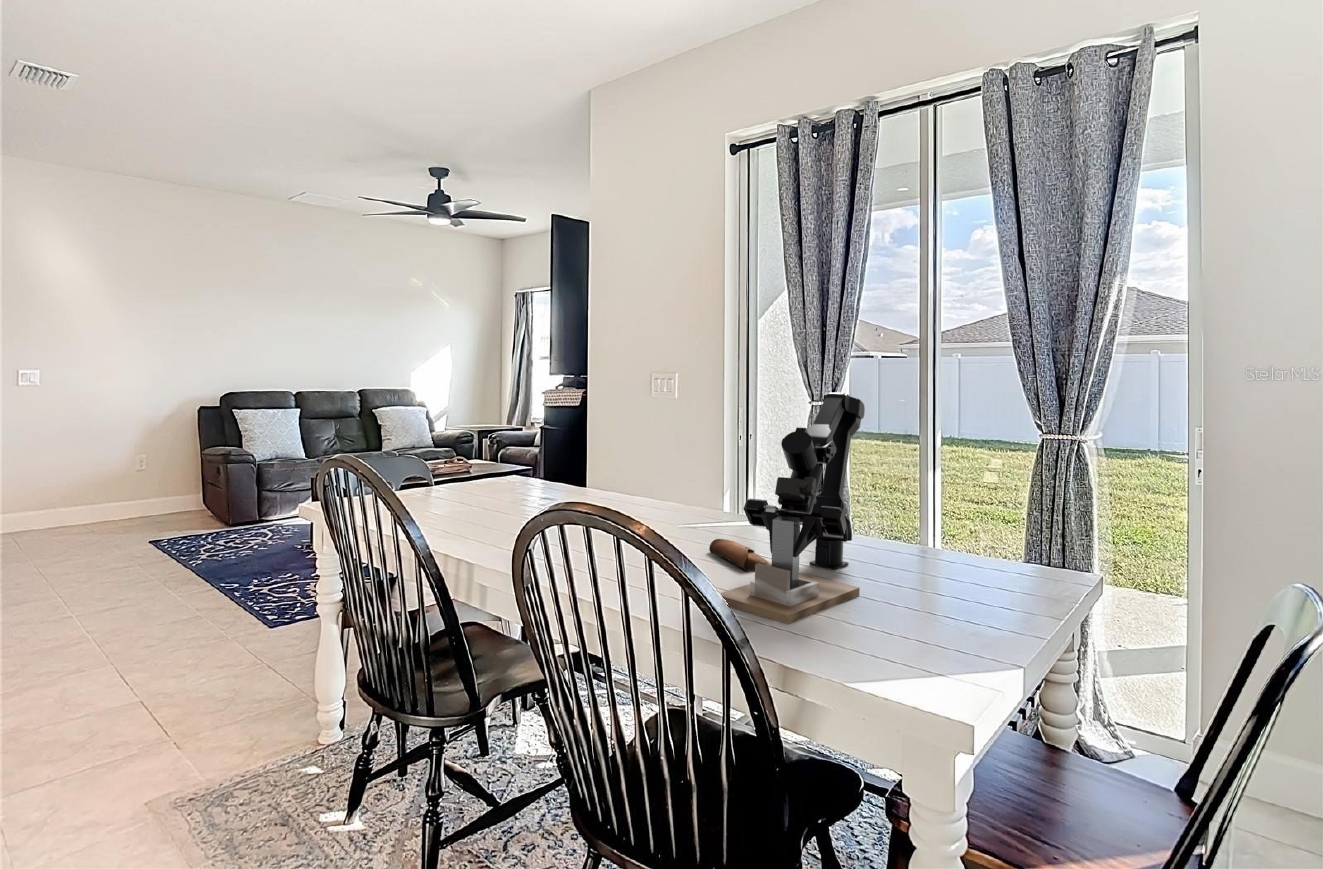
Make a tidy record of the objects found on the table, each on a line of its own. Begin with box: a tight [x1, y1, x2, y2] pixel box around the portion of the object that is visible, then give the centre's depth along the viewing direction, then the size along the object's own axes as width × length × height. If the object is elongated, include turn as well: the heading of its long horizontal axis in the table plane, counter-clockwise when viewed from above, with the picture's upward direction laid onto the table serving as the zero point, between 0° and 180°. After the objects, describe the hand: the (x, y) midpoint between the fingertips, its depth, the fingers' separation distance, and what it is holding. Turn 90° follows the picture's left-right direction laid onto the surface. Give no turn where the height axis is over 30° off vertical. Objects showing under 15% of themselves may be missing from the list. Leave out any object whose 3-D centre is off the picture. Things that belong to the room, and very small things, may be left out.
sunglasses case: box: [709, 538, 772, 573], centre depth 164 cm, size 18×7×7 cm
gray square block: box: [770, 516, 801, 590], centre depth 133 cm, size 4×4×13 cm
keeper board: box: [720, 563, 861, 625], centre depth 136 cm, size 24×16×8 cm, turn 135°
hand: (783, 554), depth 131 cm, fingers closed on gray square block, 4 cm apart
